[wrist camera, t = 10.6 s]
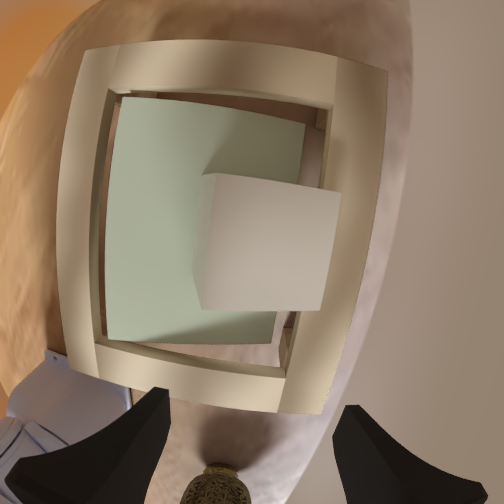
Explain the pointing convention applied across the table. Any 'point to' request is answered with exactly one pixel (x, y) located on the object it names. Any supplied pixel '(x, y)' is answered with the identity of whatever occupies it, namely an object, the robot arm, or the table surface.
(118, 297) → the flap
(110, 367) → the stand
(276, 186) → the beige cube
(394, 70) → the table surface
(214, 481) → the cup
